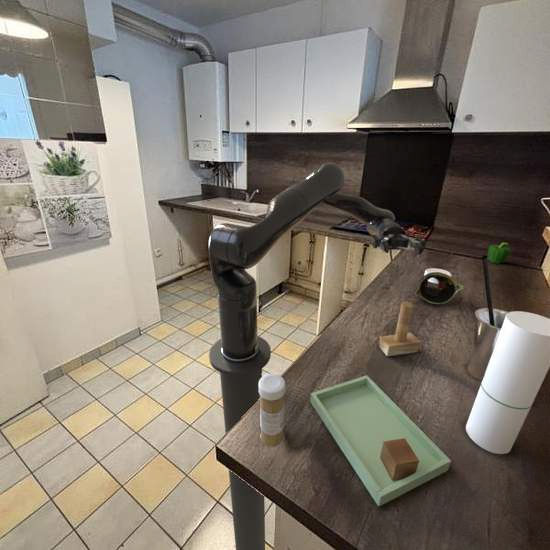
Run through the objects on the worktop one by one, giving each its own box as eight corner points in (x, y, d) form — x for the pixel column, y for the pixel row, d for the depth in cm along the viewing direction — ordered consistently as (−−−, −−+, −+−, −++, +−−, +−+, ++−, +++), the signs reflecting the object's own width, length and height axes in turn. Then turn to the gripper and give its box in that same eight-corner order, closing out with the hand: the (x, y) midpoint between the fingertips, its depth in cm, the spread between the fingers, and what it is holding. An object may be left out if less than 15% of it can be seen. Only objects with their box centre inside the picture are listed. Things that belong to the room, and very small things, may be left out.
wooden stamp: (378, 346, 80) (385, 302, 74) (408, 342, 82) (418, 298, 76) (387, 357, 76) (395, 310, 70) (418, 352, 78) (429, 306, 72)
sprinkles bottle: (268, 423, 57) (268, 368, 52) (288, 434, 55) (290, 378, 50) (254, 440, 54) (253, 384, 49) (275, 453, 52) (276, 396, 46)
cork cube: (379, 457, 50) (383, 441, 49) (400, 453, 51) (404, 437, 49) (392, 481, 47) (396, 464, 45) (414, 477, 47) (419, 460, 46)
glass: (447, 373, 70) (481, 256, 59) (462, 353, 77) (496, 245, 66) (500, 399, 63) (552, 271, 51) (512, 374, 70) (560, 257, 58)
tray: (310, 401, 62) (310, 393, 61) (365, 383, 67) (367, 375, 66) (378, 507, 44) (380, 497, 43) (448, 470, 49) (451, 460, 48)
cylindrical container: (514, 436, 55) (567, 323, 45) (507, 462, 50) (564, 342, 40) (471, 413, 60) (510, 306, 50) (461, 435, 55) (501, 322, 45)
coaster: (420, 280, 121) (422, 272, 120) (427, 273, 128) (429, 266, 127) (446, 287, 115) (449, 279, 114) (452, 279, 122) (454, 271, 121)
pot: (455, 266, 112) (466, 267, 95) (461, 295, 111) (473, 301, 95) (406, 274, 118) (409, 277, 101) (412, 301, 118) (416, 309, 101)
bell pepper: (484, 262, 141) (490, 242, 137) (486, 258, 147) (492, 239, 143) (505, 266, 136) (512, 246, 132) (506, 262, 142) (513, 242, 138)
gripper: (411, 246, 94) (428, 264, 79) (366, 244, 96) (374, 261, 81) (416, 223, 91) (434, 237, 76) (369, 222, 93) (378, 235, 78)
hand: (403, 250), depth 78 cm, fingers open, 8 cm apart
